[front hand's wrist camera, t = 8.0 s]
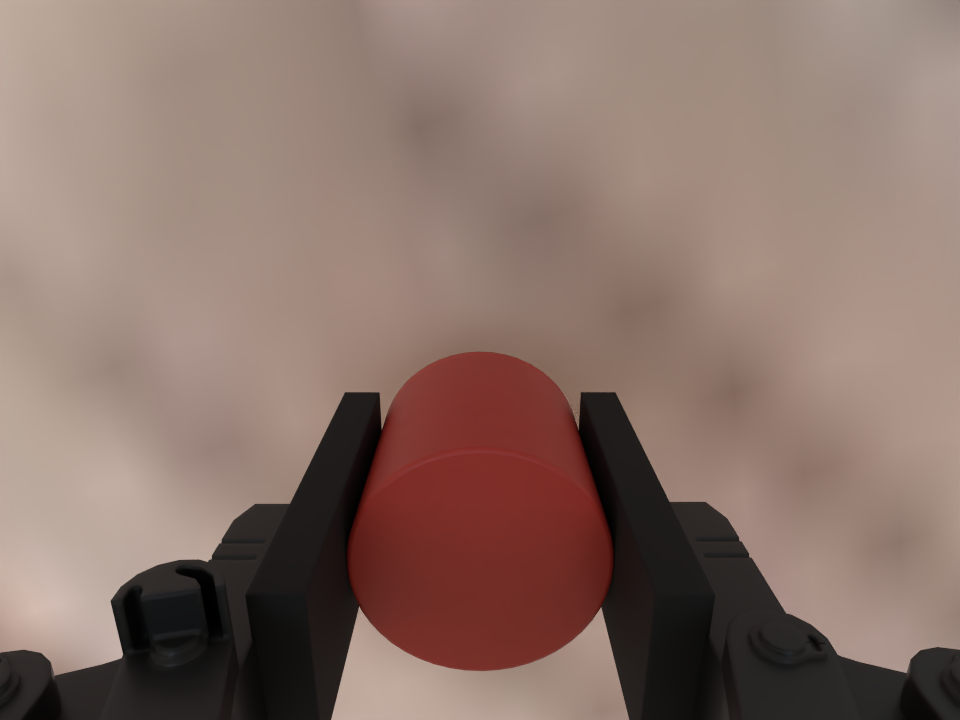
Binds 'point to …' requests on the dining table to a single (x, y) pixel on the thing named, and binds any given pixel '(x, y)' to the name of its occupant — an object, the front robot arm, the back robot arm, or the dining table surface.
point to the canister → (480, 519)
